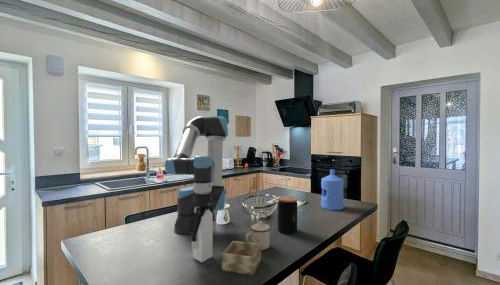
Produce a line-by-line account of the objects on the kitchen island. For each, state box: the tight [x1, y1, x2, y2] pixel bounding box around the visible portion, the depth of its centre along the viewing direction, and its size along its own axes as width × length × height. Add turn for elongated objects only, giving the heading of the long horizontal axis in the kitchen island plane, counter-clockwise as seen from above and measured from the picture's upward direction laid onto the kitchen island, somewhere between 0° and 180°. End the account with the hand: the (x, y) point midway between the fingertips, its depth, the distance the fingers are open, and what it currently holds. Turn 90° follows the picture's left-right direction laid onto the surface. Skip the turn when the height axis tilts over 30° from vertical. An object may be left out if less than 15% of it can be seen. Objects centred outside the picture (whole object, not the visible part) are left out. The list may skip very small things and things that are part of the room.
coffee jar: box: [277, 195, 298, 235], centre depth 140 cm, size 11×11×18 cm
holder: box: [221, 240, 262, 276], centre depth 103 cm, size 13×13×6 cm
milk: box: [192, 210, 214, 263], centre depth 108 cm, size 6×6×22 cm
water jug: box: [320, 168, 345, 211], centre depth 186 cm, size 16×16×28 cm
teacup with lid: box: [245, 220, 271, 251], centre depth 119 cm, size 12×9×12 cm
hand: (202, 241), depth 108 cm, fingers open, 13 cm apart
